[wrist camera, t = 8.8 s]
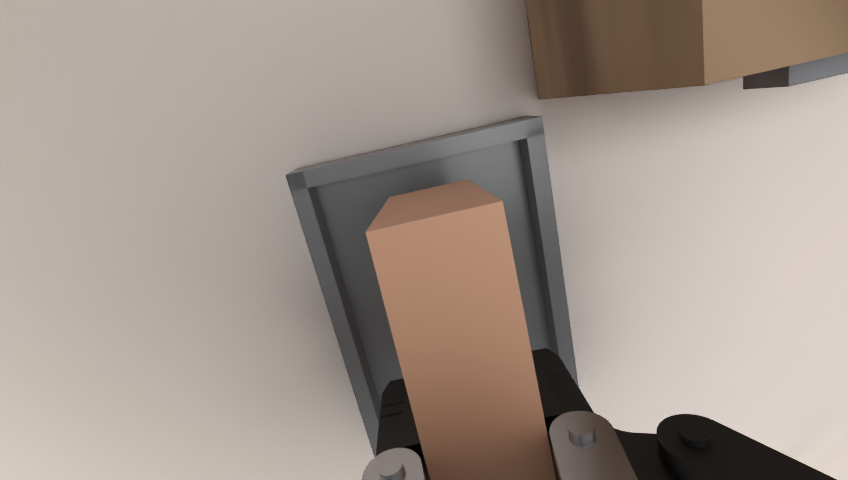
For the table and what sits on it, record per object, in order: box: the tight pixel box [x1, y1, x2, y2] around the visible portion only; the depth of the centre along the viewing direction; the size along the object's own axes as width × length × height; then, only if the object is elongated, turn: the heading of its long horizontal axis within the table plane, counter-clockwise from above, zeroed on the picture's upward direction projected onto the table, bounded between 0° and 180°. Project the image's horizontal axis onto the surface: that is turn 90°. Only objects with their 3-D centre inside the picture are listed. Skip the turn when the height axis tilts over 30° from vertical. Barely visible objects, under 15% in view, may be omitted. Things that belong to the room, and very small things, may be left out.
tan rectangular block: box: [366, 179, 556, 480], centre depth 12 cm, size 2×10×6 cm, turn 13°
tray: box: [286, 116, 579, 457], centre depth 18 cm, size 9×13×2 cm
